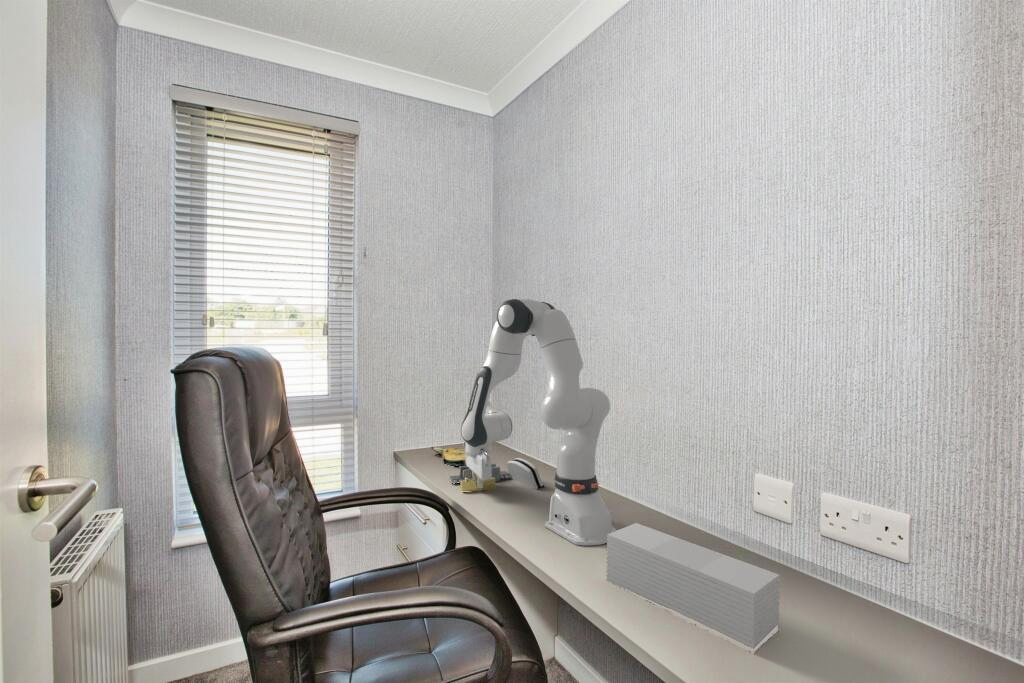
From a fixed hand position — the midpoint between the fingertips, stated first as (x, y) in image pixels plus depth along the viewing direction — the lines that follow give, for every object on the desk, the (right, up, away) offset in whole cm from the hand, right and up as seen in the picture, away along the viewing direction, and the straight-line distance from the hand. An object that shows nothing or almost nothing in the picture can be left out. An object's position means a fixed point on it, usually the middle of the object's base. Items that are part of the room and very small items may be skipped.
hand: (477, 485), depth 171 cm
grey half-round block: (+17, -2, +9) cm, 19 cm away
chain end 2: (+6, -2, +14) cm, 16 cm away
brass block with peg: (0, -2, 0) cm, 2 cm away
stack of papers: (+47, -4, -71) cm, 86 cm away
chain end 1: (-7, -1, +9) cm, 12 cm away
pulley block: (-13, -1, +40) cm, 42 cm away
